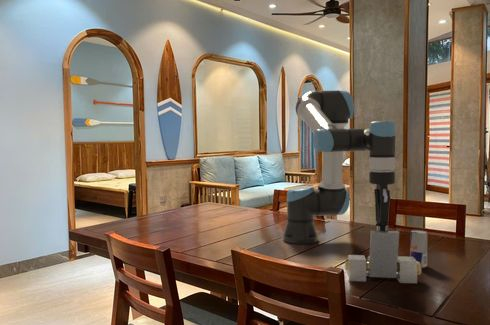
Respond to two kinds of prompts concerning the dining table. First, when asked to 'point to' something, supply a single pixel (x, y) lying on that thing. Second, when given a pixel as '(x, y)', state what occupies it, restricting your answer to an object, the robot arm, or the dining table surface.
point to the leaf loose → (383, 254)
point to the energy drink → (419, 246)
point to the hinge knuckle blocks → (404, 276)
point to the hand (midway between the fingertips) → (381, 245)
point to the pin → (396, 271)
